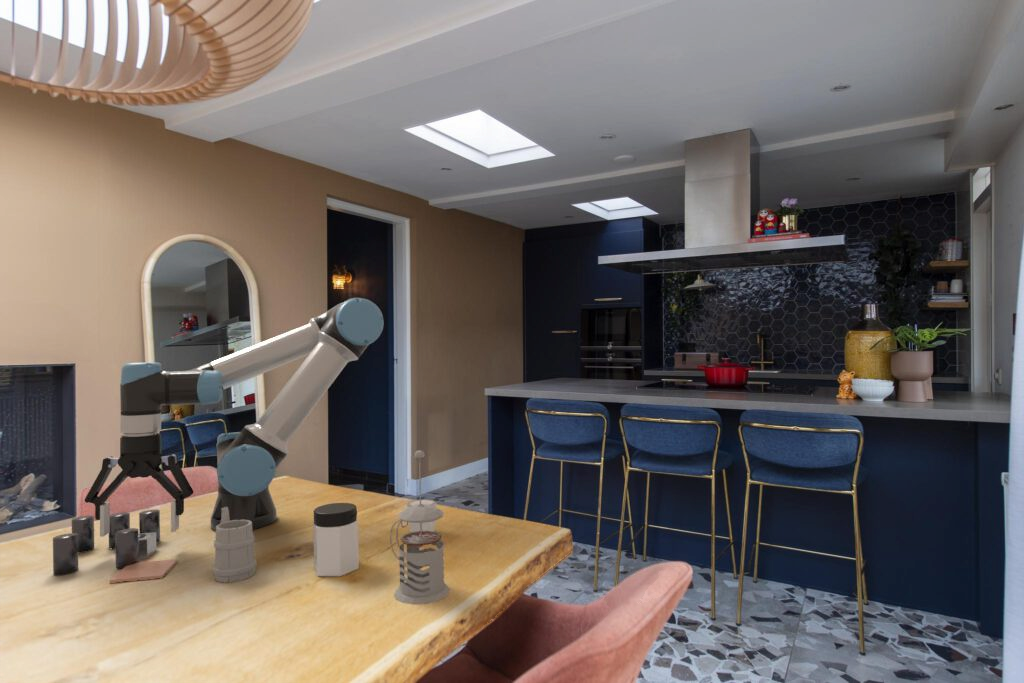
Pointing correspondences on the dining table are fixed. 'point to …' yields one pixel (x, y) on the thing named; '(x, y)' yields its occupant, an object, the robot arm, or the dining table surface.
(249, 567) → the mug
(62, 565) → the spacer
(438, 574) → the french press
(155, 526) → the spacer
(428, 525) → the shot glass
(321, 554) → the jar
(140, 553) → the nut
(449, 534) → the dining table surface
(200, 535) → the dining table surface
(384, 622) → the dining table surface
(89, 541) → the cylinder
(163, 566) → the coaster
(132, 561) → the cylinder
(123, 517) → the cylinder
